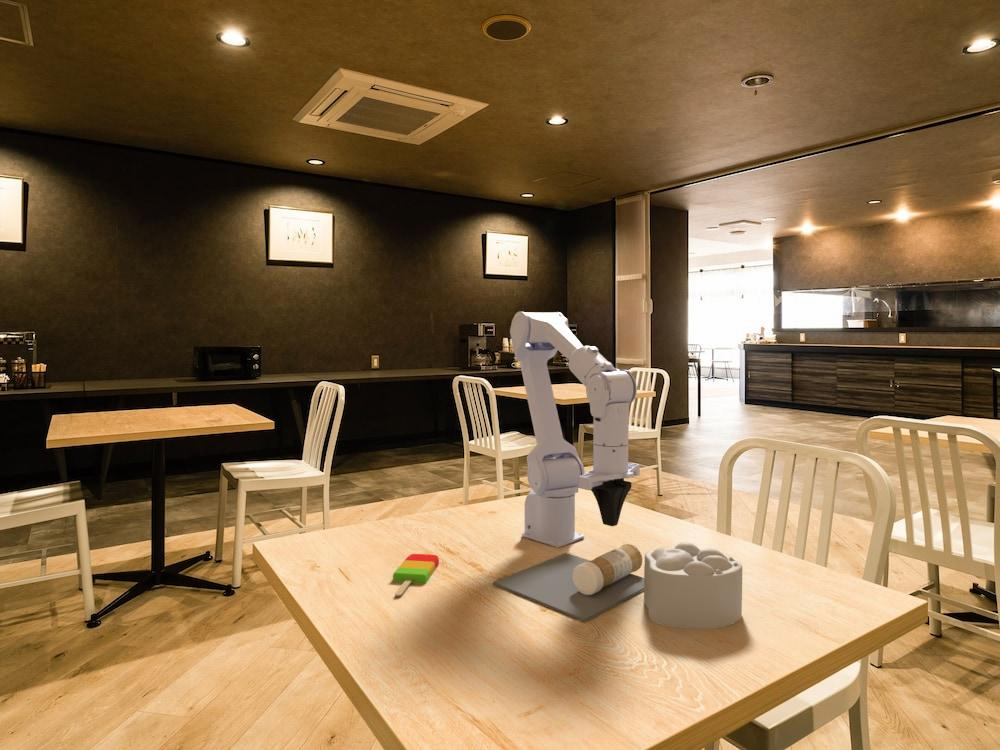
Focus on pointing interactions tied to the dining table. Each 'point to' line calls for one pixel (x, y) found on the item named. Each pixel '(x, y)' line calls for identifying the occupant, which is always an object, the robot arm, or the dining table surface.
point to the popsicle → (415, 570)
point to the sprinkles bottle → (606, 569)
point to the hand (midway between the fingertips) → (610, 524)
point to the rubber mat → (568, 588)
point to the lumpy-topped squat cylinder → (692, 587)
